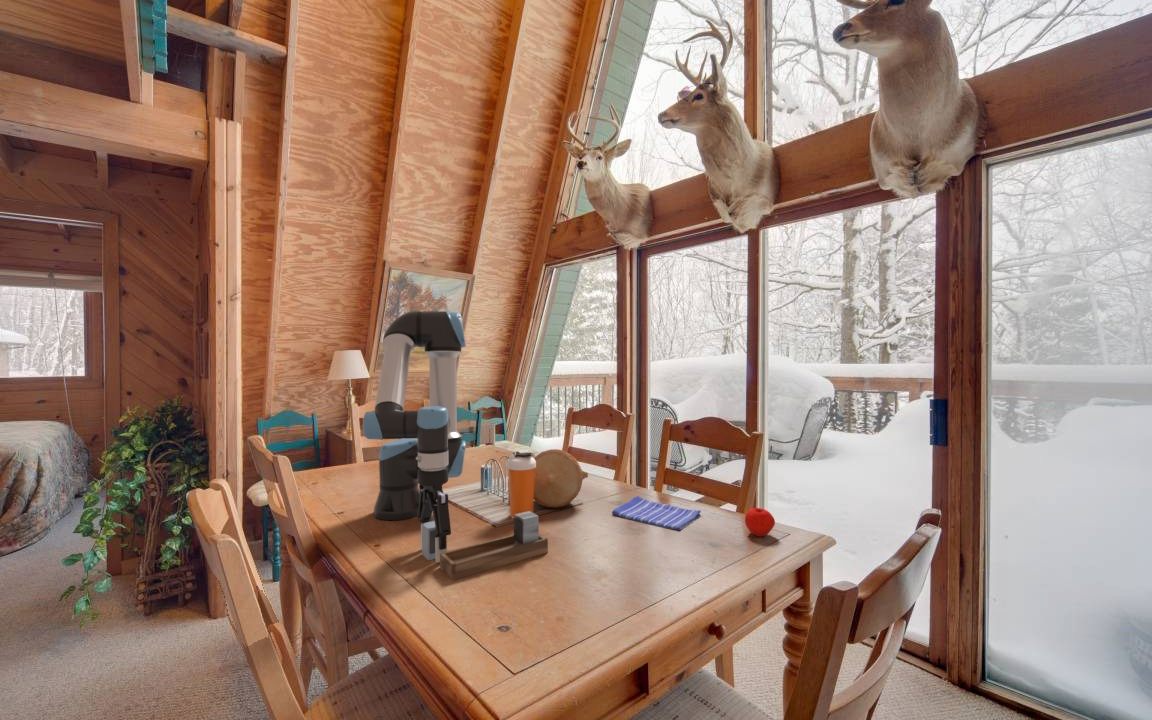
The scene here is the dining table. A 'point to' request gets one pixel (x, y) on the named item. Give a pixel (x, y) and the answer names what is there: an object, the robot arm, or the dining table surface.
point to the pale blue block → (428, 540)
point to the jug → (557, 478)
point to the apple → (759, 521)
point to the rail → (497, 549)
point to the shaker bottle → (521, 482)
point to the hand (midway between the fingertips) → (433, 554)
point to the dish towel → (656, 513)
